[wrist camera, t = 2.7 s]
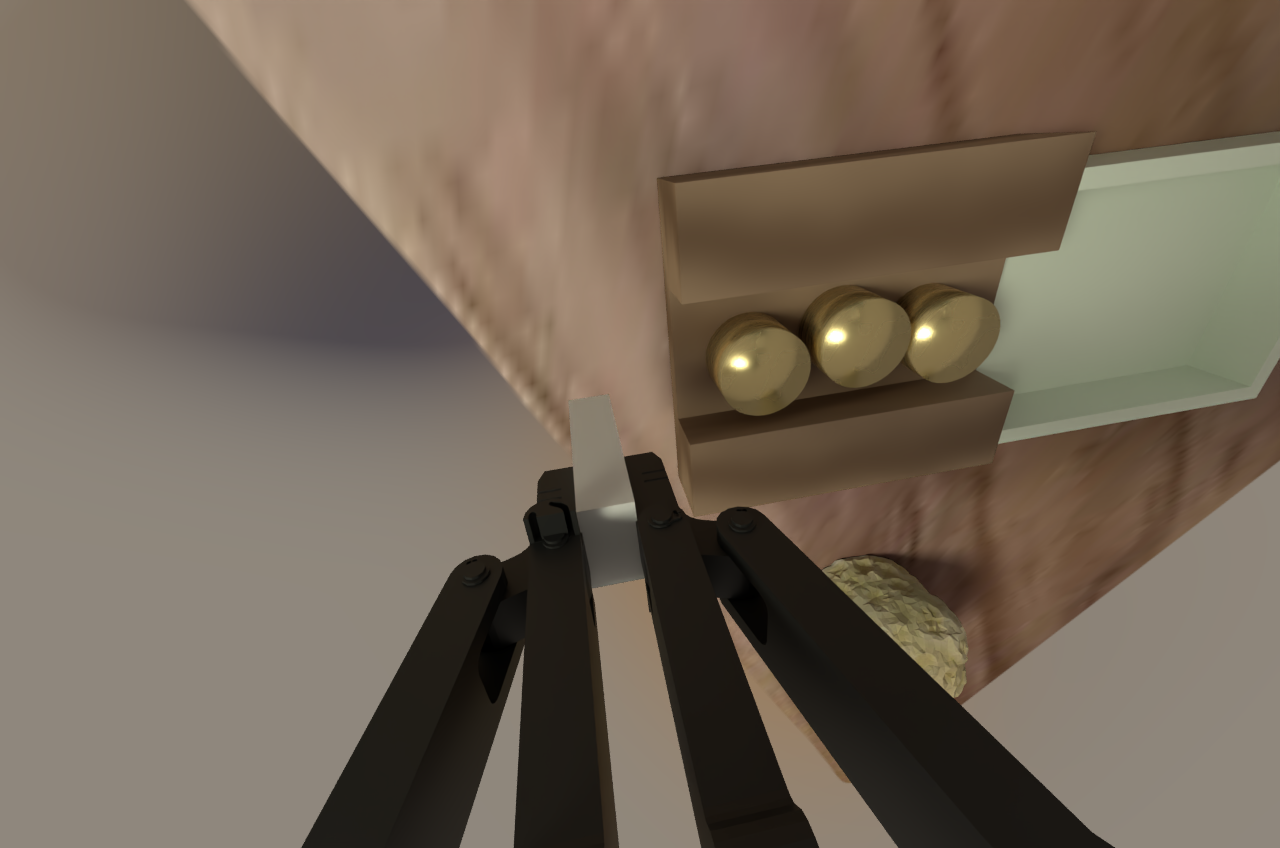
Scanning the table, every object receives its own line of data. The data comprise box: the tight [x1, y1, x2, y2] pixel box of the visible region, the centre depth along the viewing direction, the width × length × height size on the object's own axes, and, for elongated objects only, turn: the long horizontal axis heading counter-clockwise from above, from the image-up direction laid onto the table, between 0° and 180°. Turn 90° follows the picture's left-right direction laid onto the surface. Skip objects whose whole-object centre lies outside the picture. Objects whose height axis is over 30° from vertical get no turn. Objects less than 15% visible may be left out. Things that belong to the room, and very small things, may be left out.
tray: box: [976, 131, 1280, 444], centre depth 24 cm, size 13×15×4 cm
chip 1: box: [706, 312, 811, 416], centre depth 22 cm, size 4×4×2 cm
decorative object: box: [822, 555, 968, 698], centre depth 33 cm, size 9×10×10 cm
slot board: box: [657, 132, 1096, 517], centre depth 23 cm, size 15×16×4 cm
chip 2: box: [798, 285, 911, 388], centre depth 22 cm, size 4×4×2 cm
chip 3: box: [896, 283, 1000, 383], centre depth 23 cm, size 4×4×2 cm
